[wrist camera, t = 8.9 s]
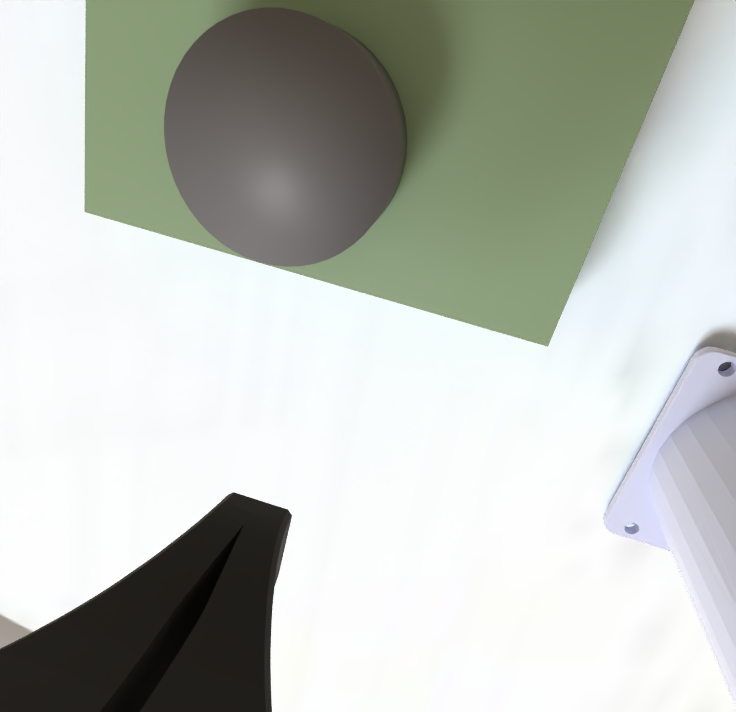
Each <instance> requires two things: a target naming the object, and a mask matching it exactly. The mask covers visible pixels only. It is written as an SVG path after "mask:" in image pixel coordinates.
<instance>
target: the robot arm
mask: <svg viewBox="0 0 736 712" xmlns="http://www.w3.org/2000/svg"><path fill="white" fill-rule="evenodd" d="M725 362H732V363H731V367H730V368H729V369H728V370H725V371H718V368H719V366H720V365H721V364H722V363H725ZM291 517H292V515H291V514H290V512H289V511H288V510H287V509H284V508H281V507H278V506H274V505H271V504H268V503H265V502H262V501H259V500H256V499H253V498H249V497H246V496H243V495H240V494H237V493H231V494H229V495H228V496H226V497H225V498H224V499H223V500H222V501H221V502H220V503H219V504H218V505H217V506H216V507H214V508H213V509H212V510H211V511H210V512H209V513H208V514H207V515H205V516H204V517H203V518H202V519H201V520H200V521H198V522H197V523H196V524H195V525H194V526H192V527H191V528H190V529H189V530H187V531H186V532H185V533H184V534H182V535H181V536H180V537H179V538H177V539H176V540H175V541H173V542H172V543H171V544H170V545H168V546H167V547H166V548H164V549H163V550H162V551H161V552H159V553H158V554H157V555H155V556H154V557H153V558H151V559H150V560H148V561H147V562H146V563H144V564H143V565H141V566H140V567H138V568H137V569H136V570H134V571H133V572H131V573H130V574H128V575H127V576H125V577H124V578H123V579H121V580H120V581H118V582H117V583H115V584H114V585H112V586H111V587H109V588H108V589H106V590H105V591H103V592H101V593H100V594H98V595H97V596H95V597H93V598H92V599H90V600H89V601H87V602H85V603H84V604H82V605H80V606H79V607H77V608H75V609H73V610H72V611H70V612H68V613H67V614H65V615H63V616H61V617H60V618H58V619H56V620H54V621H52V622H50V623H49V624H47V625H45V626H43V627H41V628H39V629H38V630H36V631H34V632H32V633H30V634H28V635H27V636H25V637H23V638H21V639H19V640H17V641H15V642H13V643H11V644H9V645H7V646H5V647H3V648H1V649H0V712H272V706H271V674H270V647H271V619H272V604H273V594H274V586H275V583H276V580H277V577H278V574H279V570H280V565H281V561H282V557H283V552H284V548H285V543H286V539H287V535H288V530H289V526H290V522H291ZM603 521H604V525H605V528H606V529H607V530H608V531H609V532H611V533H613V534H617V535H620V536H623V537H626V538H630V539H633V540H636V541H639V542H642V543H646V544H649V545H652V546H655V547H659V548H662V549H665V550H668V551H671V552H672V555H673V557H674V560H675V562H676V564H677V567H678V569H679V572H680V574H681V576H682V579H683V581H684V584H685V586H686V588H687V591H688V593H689V596H690V598H691V600H692V603H693V605H694V608H695V610H696V612H697V615H698V617H699V620H700V622H701V625H702V627H703V629H704V632H705V634H706V637H707V639H708V641H709V644H710V646H711V649H712V651H713V653H714V656H715V658H716V661H717V663H718V665H719V668H720V670H721V673H722V675H723V677H724V680H725V682H726V685H727V687H728V689H729V692H730V694H731V697H732V699H733V701H734V704H735V706H736V353H735V352H731V351H728V350H724V349H721V348H717V347H711V346H708V347H704V348H701V349H699V350H698V351H696V352H695V354H694V355H693V356H692V358H691V360H690V361H689V363H688V365H687V367H686V369H685V370H684V372H683V374H682V376H681V378H680V379H679V381H678V383H677V385H676V386H675V388H674V390H673V392H672V394H671V395H670V397H669V399H668V401H667V403H666V404H665V406H664V408H663V410H662V412H661V413H660V415H659V417H658V419H657V420H656V422H655V424H654V426H653V428H652V429H651V431H650V433H649V435H648V437H647V438H646V440H645V442H644V444H643V445H642V447H641V449H640V451H639V453H638V454H637V456H636V458H635V460H634V462H633V463H632V465H631V467H630V469H629V471H628V472H627V474H626V476H625V478H624V479H623V481H622V483H621V485H620V487H619V488H618V490H617V492H616V494H615V496H614V497H613V499H612V501H611V503H610V504H609V506H608V508H607V510H606V512H605V513H604V516H603ZM629 523H635V525H634V526H632V527H626V525H627V524H629Z"/></svg>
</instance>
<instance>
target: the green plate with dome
mask: <svg viewBox="0 0 736 712" xmlns="http://www.w3.org/2000/svg"><path fill="white" fill-rule="evenodd" d="M693 3H694V0H86V62H85V212H87V213H91V214H94V215H97V216H101V217H104V218H108V219H111V220H115V221H118V222H121V223H125V224H128V225H132V226H135V227H139V228H142V229H146V230H149V231H152V232H156V233H159V234H163V235H166V236H170V237H173V238H177V239H180V240H183V241H187V242H190V243H194V244H197V245H201V246H204V247H207V248H211V249H214V250H218V251H221V252H225V253H228V254H232V255H235V256H238V257H242V258H245V259H249V260H252V261H256V262H259V263H263V264H266V265H269V266H273V267H276V268H280V269H283V270H287V271H290V272H293V273H297V274H300V275H304V276H307V277H311V278H314V279H318V280H321V281H324V282H328V283H331V284H335V285H338V286H342V287H345V288H349V289H352V290H355V291H359V292H362V293H366V294H369V295H373V296H376V297H379V298H383V299H386V300H390V301H393V302H397V303H400V304H404V305H407V306H410V307H414V308H417V309H421V310H424V311H428V312H431V313H435V314H438V315H441V316H445V317H448V318H452V319H455V320H459V321H462V322H465V323H469V324H472V325H476V326H479V327H483V328H486V329H490V330H493V331H496V332H500V333H503V334H507V335H510V336H514V337H517V338H521V339H524V340H527V341H531V342H534V343H538V344H541V345H545V346H548V345H549V342H550V340H551V338H552V335H553V333H554V331H555V328H556V326H557V324H558V321H559V319H560V316H561V314H562V312H563V309H564V307H565V305H566V302H567V300H568V298H569V295H570V293H571V290H572V288H573V286H574V283H575V281H576V279H577V276H578V274H579V272H580V269H581V267H582V265H583V262H584V260H585V257H586V255H587V253H588V250H589V248H590V246H591V243H592V241H593V239H594V236H595V234H596V232H597V229H598V227H599V224H600V222H601V220H602V217H603V215H604V213H605V210H606V208H607V206H608V203H609V201H610V198H611V196H612V194H613V191H614V189H615V187H616V184H617V182H618V180H619V177H620V175H621V173H622V170H623V168H624V165H625V163H626V161H627V158H628V156H629V154H630V151H631V149H632V147H633V144H634V142H635V140H636V137H637V135H638V132H639V130H640V128H641V125H642V123H643V121H644V118H645V116H646V114H647V111H648V109H649V106H650V104H651V102H652V99H653V97H654V95H655V92H656V90H657V88H658V85H659V83H660V81H661V78H662V76H663V73H664V71H665V69H666V66H667V64H668V62H669V59H670V57H671V55H672V52H673V50H674V48H675V45H676V43H677V40H678V38H679V36H680V33H681V31H682V29H683V26H684V24H685V22H686V19H687V17H688V14H689V12H690V10H691V7H692V5H693Z"/></svg>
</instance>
